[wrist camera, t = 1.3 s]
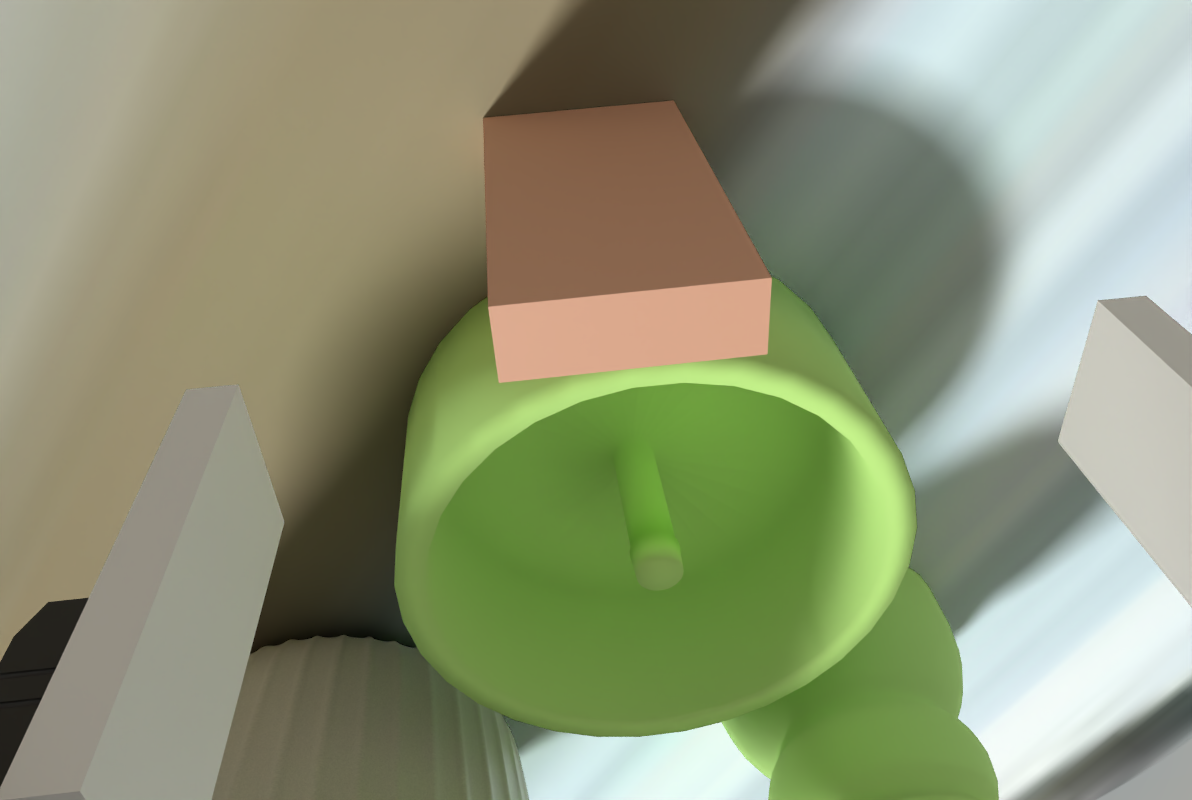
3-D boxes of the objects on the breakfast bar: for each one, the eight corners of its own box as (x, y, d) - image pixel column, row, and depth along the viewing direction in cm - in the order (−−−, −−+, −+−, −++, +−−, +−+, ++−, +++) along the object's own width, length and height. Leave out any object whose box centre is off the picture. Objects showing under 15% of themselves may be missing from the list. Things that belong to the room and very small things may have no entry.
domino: (673, 158, 26) (767, 354, 18) (490, 176, 25) (499, 383, 17) (673, 100, 25) (772, 277, 17) (483, 117, 24) (487, 307, 16)
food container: (309, 427, 30) (223, 791, 19) (689, 141, 26) (834, 407, 15) (729, 763, 42) (811, 1089, 32) (1027, 606, 38) (1229, 922, 28)
